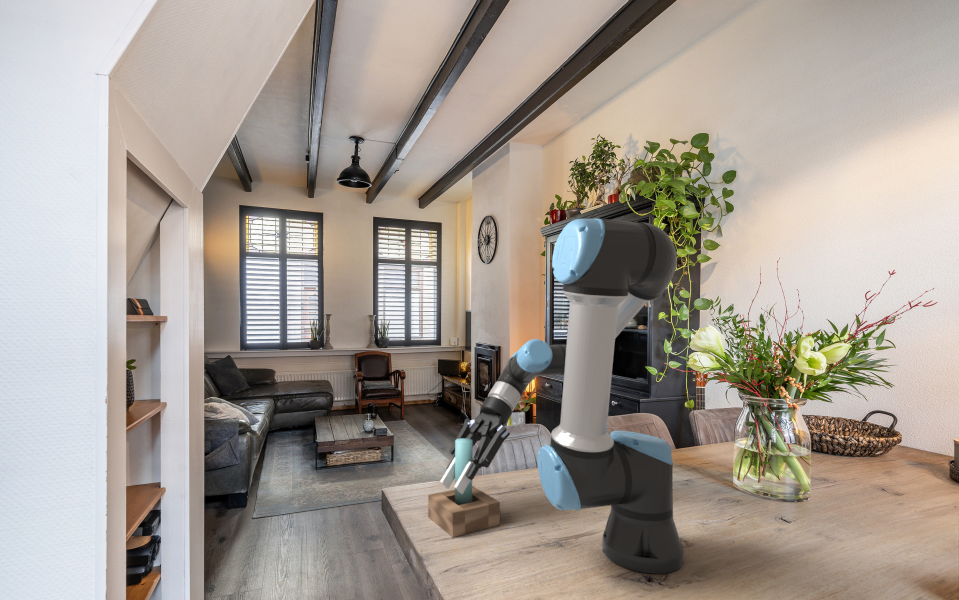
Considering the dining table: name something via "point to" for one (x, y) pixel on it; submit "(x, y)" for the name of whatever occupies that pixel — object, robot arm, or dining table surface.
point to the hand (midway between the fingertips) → (451, 487)
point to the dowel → (461, 460)
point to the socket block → (463, 512)
